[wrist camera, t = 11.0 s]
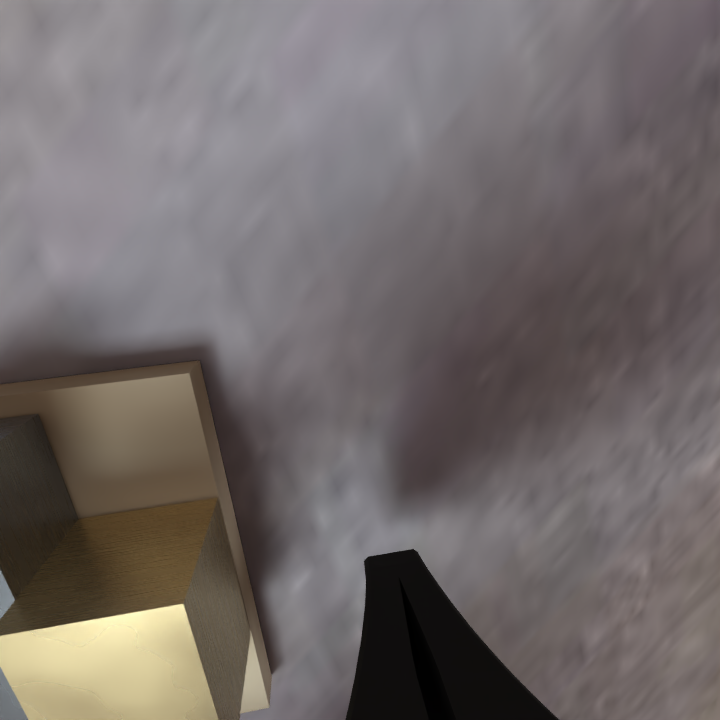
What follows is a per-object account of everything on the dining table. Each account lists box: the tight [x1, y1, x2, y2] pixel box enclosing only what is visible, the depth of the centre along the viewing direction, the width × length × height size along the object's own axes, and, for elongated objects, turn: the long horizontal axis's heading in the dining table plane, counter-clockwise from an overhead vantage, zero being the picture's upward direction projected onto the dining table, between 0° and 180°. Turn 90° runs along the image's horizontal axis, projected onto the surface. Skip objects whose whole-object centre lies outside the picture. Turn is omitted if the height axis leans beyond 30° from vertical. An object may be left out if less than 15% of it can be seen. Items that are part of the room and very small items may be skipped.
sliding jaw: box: [0, 414, 251, 720], centre depth 10 cm, size 11×6×3 cm, turn 5°
